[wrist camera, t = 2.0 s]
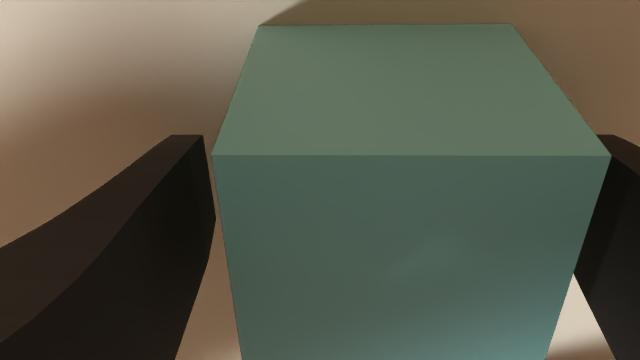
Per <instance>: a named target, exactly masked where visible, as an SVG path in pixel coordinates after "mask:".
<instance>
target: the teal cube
mask: <svg viewBox="0 0 640 360" xmlns="http://www.w3.org/2000/svg"><path fill="white" fill-rule="evenodd" d="M211 158H212V165H213V171H214V178H215V185H216V191H217V198H218V204H219V211H220V218H221V224H222V231H223V237H224V244H225V251H226V257H227V264H228V271H229V277H230V284H231V290H232V297H233V304H234V310H235V317H236V323H237V330H238V337H239V343H240V350H241V356H242V360H545V358H546V355H547V352H548V348H549V345H550V342H551V339H552V336H553V333H554V330H555V327H556V324H557V321H558V318H559V315H560V312H561V309H562V306H563V303H564V300H565V297H566V294H567V290H568V287H569V284H570V281H571V278H572V275H573V272H574V269H575V266H576V263H577V260H578V257H579V254H580V251H581V248H582V245H583V242H584V239H585V235H586V232H587V229H588V226H589V223H590V220H591V217H592V214H593V211H594V208H595V205H596V202H597V199H598V196H599V193H600V190H601V187H602V184H603V181H604V177H605V174H606V171H607V168H608V165H609V162H610V159H611V154H610V153H609V152H608V150H607V149H606V148H605V146H604V145H603V144H602V142H601V141H600V140H599V138H598V137H597V136H596V135H595V133H594V132H593V131H592V129H591V128H590V127H589V125H588V124H587V123H586V121H585V120H584V119H583V117H582V116H581V115H580V113H579V112H578V111H577V110H576V108H575V107H574V106H573V104H572V103H571V102H570V100H569V99H568V98H567V96H566V95H565V94H564V92H563V91H562V90H561V89H560V87H559V86H558V85H557V83H556V82H555V81H554V79H553V78H552V77H551V75H550V74H549V73H548V71H547V70H546V69H545V67H544V66H543V65H542V64H541V62H540V61H539V60H538V58H537V57H536V56H535V54H534V53H533V52H532V50H531V49H530V48H529V46H528V45H527V44H526V42H525V41H524V40H523V39H522V37H521V36H520V35H519V33H518V32H517V31H516V29H515V28H514V27H513V25H512V24H401V25H263V26H258V29H257V32H256V34H255V37H254V40H253V43H252V45H251V48H250V51H249V53H248V56H247V59H246V62H245V64H244V67H243V70H242V72H241V75H240V78H239V81H238V83H237V86H236V89H235V91H234V94H233V97H232V100H231V102H230V105H229V108H228V110H227V113H226V116H225V119H224V121H223V124H222V127H221V129H220V132H219V135H218V137H217V140H216V143H215V146H214V148H213V151H212V154H211Z"/></svg>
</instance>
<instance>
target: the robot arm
mask: <svg viewBox="0 0 640 360" xmlns="http://www.w3.org/2000/svg"><path fill="white" fill-rule="evenodd" d="M596 136H597V137H598V138H599V140H600V141H601V142H602V144H603V145H604V146H605V148H606V149H607V150H608V152H609V153H610V154H611V159H610V162H609V165H608V168H607V171H606V174H605V177H604V181H603V184H602V187H601V190H600V193H599V196H598V199H597V202H596V205H595V208H594V211H593V214H592V217H591V220H590V223H589V226H588V229H587V232H586V235H585V239H584V242H583V245H582V248H581V251H580V254H579V257H578V260H577V263H576V266H575V269H574V272H573V273H574V275H575V278H576V280H577V282H578V284H579V286H580V288H581V290H582V292H583V294H584V296H585V298H586V300H587V302H588V304H589V306H590V308H591V310H592V312H593V314H594V317H595V319H596V321H597V323H598V325H599V327H600V329H601V331H602V333H603V335H604V337H605V339H606V341H607V343H608V345H609V347H610V349H611V351H612V353H613V355H614V357H615V359H616V360H640V147H638V146H636V145H634V144H632V143H630V142H628V141H626V140H624V139H622V138H619V137H617V136H615V135H596ZM215 221H216V215H215V208H214V202H213V196H212V190H211V183H210V177H209V171H208V164H207V158H206V152H205V146H204V139H203V135H171V136H169V137H168V138H166V139H165V140H163V141H162V142H160V143H159V144H158V145H156V146H155V147H153V148H152V149H151V150H149V151H148V152H147V153H146V154H144V155H143V156H142V157H140V158H139V159H138V160H136V161H135V162H134V163H132V164H131V165H130V166H128V167H127V168H126V169H124V170H123V171H122V172H120V173H119V174H118V175H116V176H115V177H114V178H112V179H111V180H110V181H108V182H107V183H106V184H104V185H103V186H101V187H100V188H98V189H97V190H95V191H94V192H92V193H91V194H90V195H88V196H87V197H85V198H84V199H82V200H81V201H79V202H78V203H76V204H75V205H73V206H72V207H70V208H69V209H67V210H66V211H64V212H63V213H61V214H60V215H58V216H56V217H55V218H53V219H52V220H50V221H48V222H47V223H45V224H43V225H42V226H40V227H38V228H36V229H35V230H33V231H31V232H29V233H27V234H26V235H24V236H22V237H20V238H18V239H16V240H15V241H13V242H11V243H9V244H7V245H5V246H3V247H1V248H0V360H175V358H176V355H177V352H178V349H179V346H180V343H181V340H182V337H183V334H184V331H185V328H186V325H187V322H188V319H189V316H190V313H191V311H192V308H193V305H194V302H195V299H196V296H197V293H198V290H199V287H200V284H201V281H202V278H203V275H204V272H205V269H206V266H207V263H208V259H209V254H210V249H211V244H212V238H213V233H214V227H215Z"/></svg>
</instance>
